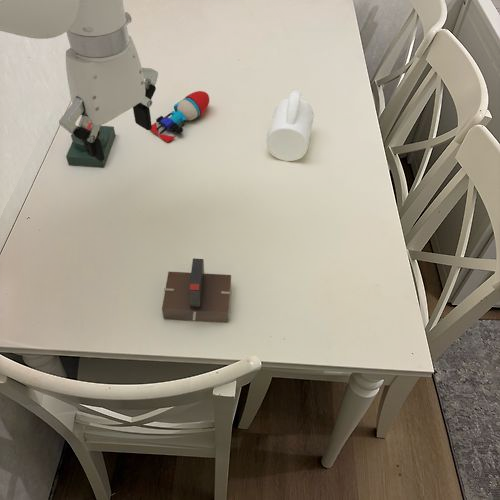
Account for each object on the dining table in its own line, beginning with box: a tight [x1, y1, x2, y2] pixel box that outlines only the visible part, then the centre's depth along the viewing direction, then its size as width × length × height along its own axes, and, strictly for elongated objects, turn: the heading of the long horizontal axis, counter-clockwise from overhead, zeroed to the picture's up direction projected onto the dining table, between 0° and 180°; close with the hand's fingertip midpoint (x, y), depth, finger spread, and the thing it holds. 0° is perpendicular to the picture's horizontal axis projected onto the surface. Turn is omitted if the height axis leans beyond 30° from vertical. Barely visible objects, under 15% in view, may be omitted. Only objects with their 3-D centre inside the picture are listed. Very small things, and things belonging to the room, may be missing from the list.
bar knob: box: [188, 258, 205, 308], centre depth 73 cm, size 6×2×5 cm, turn 178°
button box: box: [65, 125, 116, 169], centre depth 97 cm, size 10×7×4 cm
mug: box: [266, 89, 315, 162], centre depth 97 cm, size 8×10×12 cm
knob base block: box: [161, 271, 232, 323], centre depth 76 cm, size 10×10×3 cm
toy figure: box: [150, 90, 210, 144], centre depth 103 cm, size 8×5×15 cm
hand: (121, 141), depth 76 cm, fingers open, 9 cm apart
